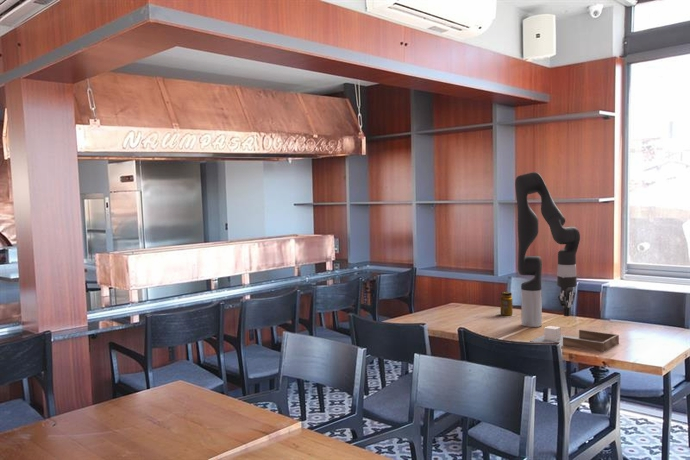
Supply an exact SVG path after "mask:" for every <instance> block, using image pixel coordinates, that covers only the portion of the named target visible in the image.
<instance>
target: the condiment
mask: <svg viewBox="0 0 690 460" xmlns="http://www.w3.org/2000/svg"><path fill="white" fill-rule="evenodd" d="M512 295H513V294H512V292H510V291H504V292H503V291H502V292H501V296H500V299H499V300H500V304H499V305H500V314H499V313H498V314H495V315H494V316H495V317H502V318H510V317H515V314H513V310H514V309H513V296H512Z"/></svg>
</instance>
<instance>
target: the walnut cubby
mask: <svg viewBox="0 0 690 460" xmlns="http://www.w3.org/2000/svg"><path fill="white" fill-rule="evenodd" d="M578 337H579V338H582V339H589V340H596V341H603V342H595V341H588V340H581V339H574V338H568V337H563V346H562V347H565V346H567V347H566V348H572V347H573V348H574V349H578V348H580V349H579V350H585V349H586V350H585V351H591V350H593V351H594V352H597V351H599V352H598V353H605V352H607V351H609V350H611V349H612V348H614V347H616V346H618V345H619V344H620V339H619V337H620V335H619V334H614V333H607V332H601V331H593V330H585V329H579V330H578ZM617 344H618V345H617ZM615 345H616V346H615ZM613 346H614V347H613ZM611 347H612V348H611ZM573 348H572V349H573ZM610 348H611V349H610ZM608 349H609V350H608ZM606 350H607V351H606ZM593 351H592V352H593ZM604 351H605V352H604Z"/></svg>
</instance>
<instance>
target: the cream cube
mask: <svg viewBox="0 0 690 460" xmlns="http://www.w3.org/2000/svg"><path fill="white" fill-rule="evenodd" d="M543 331H544V332H543V335H544V340H551V341H558V340H560V339H561V335H562V329H561V326H554V325H548V326H546V327H544V328H543Z"/></svg>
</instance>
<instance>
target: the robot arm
mask: <svg viewBox="0 0 690 460" xmlns="http://www.w3.org/2000/svg"><path fill="white" fill-rule="evenodd" d="M514 187H515V197H516V198H515V199H516V205H517V206H516V207H517V238H518V239H517V240H518V241H517V242H518V252H517V253H518V254H517V270H518V274H519V275H521V276H534V277H533V278H532V279H530V280H527V281H525V282H524V281H523V282H522V283H521V285H520V290H521V291H520V299H521V304H520V305H521V310H520V311H521V318H520V319H521V321H520V323H521V324H520V325H521V326H523V327H529V328H535V327H536V328H538V327H542V325H543V321H542V315H543V313H542V310H543V308H542V271H543V269H542V268H543V267H542V266H543V261H542V260H543V259H542V257H541V256H538V255H526V254H527V251H528V249H529V247H530V246H531V244H532V243H533V242H534V241H535V240H536V238H537V237H538V236H539V218H538V216H537V214H536V213H535V212H534V211H533V209H532V208H531V206H530V204H529V202H528V201H529V200H528V195H531V194H535V193H537V194H538V195H539V196H540V199H541V201H540V202H541V203H540V213H541V216H542V217H543V219H544V221H545V222H546V223H547V225H548V226H549V228H550V229H549V230H550V232H551V235H552V239H553V240H554V242H555V243H556V244H559V245H565V246H564V248H562V249H560V250H559V251H558V252H557V267H556V271H557V272H556V277H557V278H556V281H557V282H556V285H557V286H558V288H559V287H560V295H558V296H557V298H558V301H559V303H560V306H561V307H563V316H564V317H571V307H572V305H573V303H574V302H575V301H574V300H575V296H576V291H574V288H576V287H577V285H578V284H577V282H578V281H577V274H578V273H577V272H578V271H577V261H576V260H577V251H578V248H579V244H580V242H581V241H580V240H581V233H580V231H579V229H578V228H577V227H575V226H565V227H563V226H564V225H565V223H566V218H565V216H564V215H563V213H562V212H561V210H560V209H559V207H558V206H557V205H556V203H555V201H554V200H553V197H552V194H551V193H550V191H549V189H548V187H547V185H546V182H545V180H544V179H543V177H542V175H541V174H540V173H538V172H537V171H533V172H528V173H524V174H519V175H518V176H517V177H516V178H515V182H514Z"/></svg>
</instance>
